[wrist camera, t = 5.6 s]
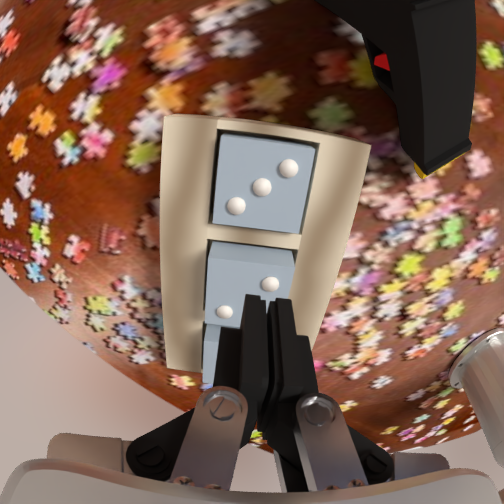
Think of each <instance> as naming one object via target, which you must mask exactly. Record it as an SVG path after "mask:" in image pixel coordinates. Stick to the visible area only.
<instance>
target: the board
mask: <svg viewBox="0 0 504 504" xmlns="http://www.w3.org/2000/svg"><path fill="white" fill-rule="evenodd" d="M225 132H227V133H236V134H245V135H253V136H261V137H268V138H275V139H282V140H289V141H295V142H301V143H307V144H310V145H311V146H312V147H313V148H314V149H315V154H314V160H313V165H312V170H311V175H310V181H309V186H308V191H307V196H306V201H305V206H304V211H303V216H302V221H301V225H300V230H299V234H296V233H289V232H281V231H273V230H265V229H257V228H249V227H240V226H232V225H223V224H214V223H213V212H214V201H215V190H216V179H217V169H218V159H219V149H220V140H221V136H222V135H223V134H224V133H225ZM370 149H371V145H369V144H367V143H365V142H363V141H360V140H358V139H356V138H352V137H347V136H343V135H338V134H333V133H329V132H324V131H318V130H313V129H308V128H302V127H296V126H290V125H284V124H277V123H271V122H263V121H256V120H248V119H239V118H229V117H219V116H206V115H192V114H173V115H168V116H164V123H163V137H162V154H161V177H160V271H161V295H162V312H163V327H164V339H165V351H166V361H167V368H172V369H178V370H185V371H192V372H199V373H203V354H204V338H205V332H206V327H207V323H205V305H206V286H207V269H208V257H209V253H210V249H211V246H212V242H213V241H215V242H224V243H232V244H241V245H249V246H258V247H266V248H274V249H283V250H291V251H292V255H293V259H294V264H295V271H294V275H293V280H292V284H291V288H290V292H289V296H288V299H291V300H292V306H293V313H294V320H295V326H296V333H297V335H306V336H308V337H309V341H310V346H311V351H312V348H313V345H314V343H315V340H316V337H317V334H318V332H319V329H320V326H321V323H322V320H323V318H324V315H325V312H326V309H327V306H328V303H329V300H330V297H331V294H332V291H333V288H334V284H335V281H336V278H337V275H338V272H339V268H340V265H341V262H342V259H343V255H344V252H345V248H346V245H347V241H348V238H349V234H350V231H351V227H352V224H353V220H354V216H355V212H356V208H357V205H358V201H359V197H360V193H361V189H362V184H363V180H364V176H365V172H366V167H367V163H368V158H369V154H370Z"/></svg>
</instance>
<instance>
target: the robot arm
mask: <svg viewBox="0 0 504 504" xmlns="http://www.w3.org/2000/svg"><path fill="white" fill-rule="evenodd" d="M448 380H449V382H450V384H451V386H452V387H454V388H463V389H464V391H465V393H466V395H467V397H468V399H469V401H470V403H471V405H472V407H473V409H474V412H475V414H476V416H477V418H478V420H479V423H480V425H481V427H482V429H483V432H484V434H485V436H486V439H487V441H488V443H489V446H490V449H491V451H492V453H493V455H494V458H495V460H496V462H497V463H498V464H499V465H500V466H501V467H503V468H504V328H497V329H493V330H491V331H489V332H487V333H485V334H483V335H482V336H480V337H479V338H477V339H476V340H475V341H473V342H472V343H471V344H470V345H469V346H468V347H467V348H466V349H465V350H464V351H463V352H462V353H461V354H460V355H459V356H458V357H457V359H456V360H455V361H454V363H453V365H452V366H451V368H450V371H449V374H448ZM256 422H257V431H258V432H263V440H267V444H268V445H269V446H270V447H272V448H273V449H274V457H275V462H276V467H277V472H278V476H279V481H280V486H281V490H282V493H263V492H262V493H261V492H240V491H229V490H230V486H231V482H232V478H233V474H234V469H235V465H236V461H237V457H238V452H239V449H241V448H242V447H243V446H245V445H246V444H247V443H249V440H250V437H251V434H252V431H253V430H254V427H255V424H256ZM0 504H504V489H502V490H501V491H499V492H498V491H497V488H496V487H495V484H494V482H493V481H492V479H491V478H490V477H489V476H488V475H487V474H485V473H483V472H481V471H477V470H473V469H466V468H465V469H463V468H457V469H456V468H455V469H450V466H449V463H448V461H447V460H446V458H445V457H444V456H442V455H441V454H436V453H431V454H430V453H404V452H394V453H393V454H389V453H387V452H386V451H385V450H384V449H382V448H381V447H379V446H378V445H376V444H375V443H373V442H372V441H370V440H369V439H367V438H366V437H364V436H363V435H361V434H360V433H359V432H357V431H356V430H354V429H353V428H351V427H350V426H349V425H347V424H346V422H345V419H344V417H343V414H342V411H341V409H340V407H339V405H338V403H337V402H336V401H335V400H334V399H333V398H331V397H329V396H328V395H325V394H322V393H319V392H318V386H317V380H316V374H315V368H314V363H313V357H312V352H311V346H310V341H309V337H308V336H306V335H297V333H296V326H295V320H294V313H293V306H292V300H291V299H285V298H276V299H275V301H270V302H269V306H268V311H267V313H266V300H261V296H260V295H252V294H245V300H244V306H243V312H242V318H241V324H240V329H237V328H229V327H221V329H220V336H219V344H218V351H217V359H216V366H215V374H214V382H213V387H212V388H209V389H207V390H206V391H204V392H203V393H202V394H201V396H200V397H199V399H198V402H197V405H196V407H195V408H193V409H191V410H190V411H188V412H186V413H184V414H183V415H181V416H179V417H177V418H176V419H173V420H172V421H170V422H168V423H166V424H164V425H162V426H160V427H159V428H156V429H155V430H153V431H151V432H149V433H147V434H145V435H143V436H141V437H139V438H137V439H136V440H134V441H124V440H123V441H122V439H121V438H111V437H98V436H88V435H79V434H71V433H60V434H57V435H55V436H54V437H53V438H52V439H51V440H50V442H49V445H48V451H47V459H34V460H29V461H26V462H23V463H22V464H20V465H19V466H18V467H17V468H16V469H15V470H14V471H13V472H12V474H11V475H10V477H9V479H8V481H7V483H6V485H5V487H4V489H3V491H2V494H1V496H0Z"/></svg>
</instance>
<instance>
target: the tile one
mask: <svg viewBox="0 0 504 504" xmlns="http://www.w3.org/2000/svg"><path fill="white" fill-rule="evenodd" d="M221 327H229V328H237V329H240V327H232V326H224V325H215V324H207V327H206V332H205V338H204V354H203V383H210V384H213V382H214V374H215V366H216V359H217V351H218V344H219V336H220V329H221Z"/></svg>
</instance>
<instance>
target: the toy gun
mask: <svg viewBox="0 0 504 504" xmlns="http://www.w3.org/2000/svg"><path fill="white" fill-rule="evenodd" d="M315 1H317V2H318V3H320V4H321V5H323V6H324V7H326V8H327V9H329V10H330V11H332V12H333V13H334V14H336V15H337V16H339V17H340V18H341V19H343V20H344V21H346V22H347V23H348V24H350V25H351V26H352V27H354V28H355V29H356V30H358V31H359V32H360V33H361V34H362V37H363V40H364V43H365V47H366V50H367V53H368V57H369V60H370V64H371V68H372V72H373V75H374V78H375V80H376V81H377V83H378V84H379V86H380V87H381V88H382V89H383V90H384V91H385V93H386V94H387V95H388V96H389V97H390V98H391V99H392V100H393V102H394V103H395V104H396V108H397V115H398V122H399V129H400V138H401V146H402V148H403V149H404V150H405V151H406V153H407V154H408V155H409V156H410V157H411V159H412V160H413V161H414V168H415V171H416V173H417V174H418V175H419V177H420V178H422V179H423V178H425V177H427V176H428V175H430V174H432V173H433V172H435V171H437V170H438V169H440V168H442V167H443V166H445V165H446V164H448V163H450V162H451V161H453V160H455V159H456V158H458V157H459V156H461V155H463V154H464V153H465V152H467V151H468V150H470V149H471V145H472V143H471V141H470V140H469V138H468V137H469V131H470V124H471V116H472V108H473V99H474V88H475V73H476V14H475V0H315Z"/></svg>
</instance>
